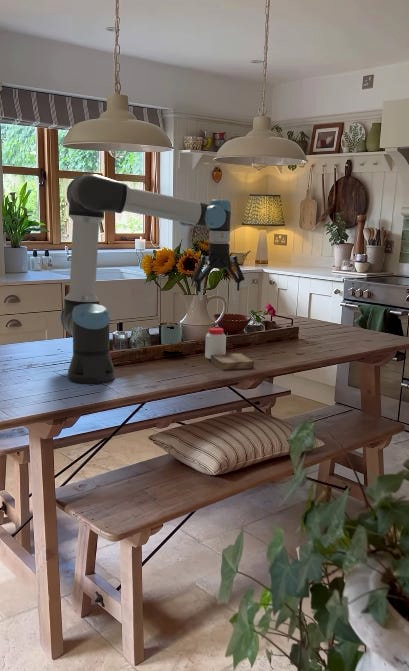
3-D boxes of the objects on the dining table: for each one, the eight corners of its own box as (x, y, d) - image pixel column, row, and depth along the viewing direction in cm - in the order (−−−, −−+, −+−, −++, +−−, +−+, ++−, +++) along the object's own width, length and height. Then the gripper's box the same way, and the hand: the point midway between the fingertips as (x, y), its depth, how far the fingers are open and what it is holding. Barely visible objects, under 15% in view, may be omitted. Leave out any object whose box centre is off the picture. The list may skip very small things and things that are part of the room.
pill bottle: (221, 354, 238) (222, 326, 235) (228, 359, 230) (229, 330, 228) (202, 355, 235) (203, 327, 233) (208, 360, 228) (209, 331, 226)
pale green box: (178, 354, 235) (178, 329, 233) (158, 353, 236) (159, 327, 234) (182, 350, 242) (183, 325, 240) (164, 348, 244) (164, 324, 242)
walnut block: (222, 371, 215) (222, 363, 214) (210, 362, 226) (210, 354, 225) (253, 369, 219) (253, 361, 218) (240, 361, 230) (240, 353, 229)
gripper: (190, 243, 216) (189, 302, 221) (254, 243, 224) (252, 300, 229) (183, 241, 223) (182, 299, 228) (246, 242, 231) (244, 297, 236)
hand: (217, 300), depth 228 cm, fingers open, 13 cm apart
